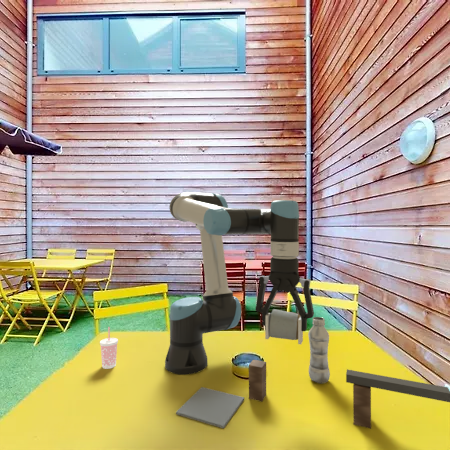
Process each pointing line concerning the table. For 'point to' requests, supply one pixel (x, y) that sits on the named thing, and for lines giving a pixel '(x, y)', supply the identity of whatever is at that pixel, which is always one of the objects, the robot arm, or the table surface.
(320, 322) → the plastic bottle
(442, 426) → the table surface
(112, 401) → the table surface
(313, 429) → the table surface
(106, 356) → the beverage cup
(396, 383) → the dark grey bar
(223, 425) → the mat
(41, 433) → the table surface
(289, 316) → the ceramic mug
